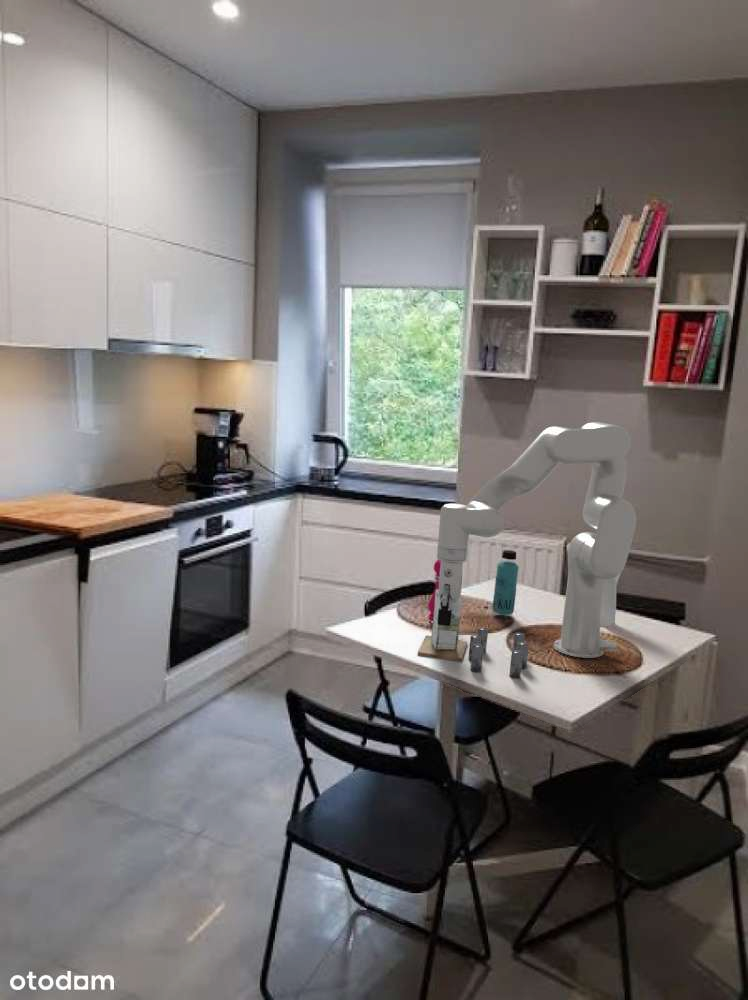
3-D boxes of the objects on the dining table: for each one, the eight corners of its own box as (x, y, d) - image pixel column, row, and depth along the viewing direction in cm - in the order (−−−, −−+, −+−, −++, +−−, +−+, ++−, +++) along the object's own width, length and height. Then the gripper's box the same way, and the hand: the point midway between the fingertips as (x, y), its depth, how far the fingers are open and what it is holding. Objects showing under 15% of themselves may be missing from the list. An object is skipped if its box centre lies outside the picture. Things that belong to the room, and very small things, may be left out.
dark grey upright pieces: (527, 656, 192) (529, 634, 191) (525, 680, 177) (528, 655, 176) (471, 648, 195) (473, 626, 194) (464, 670, 180) (467, 646, 179)
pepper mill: (443, 627, 210) (450, 557, 206) (422, 620, 214) (428, 552, 211) (457, 621, 215) (463, 553, 212) (435, 615, 220) (441, 548, 216)
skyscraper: (608, 629, 219) (620, 535, 214) (584, 622, 224) (596, 530, 219) (619, 623, 225) (631, 532, 220) (596, 617, 230) (607, 527, 225)
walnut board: (467, 644, 198) (467, 641, 198) (461, 661, 185) (461, 658, 185) (425, 638, 200) (426, 635, 200) (417, 654, 187) (417, 651, 187)
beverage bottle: (497, 611, 228) (504, 547, 225) (517, 616, 224) (524, 551, 221) (487, 616, 223) (494, 550, 220) (507, 621, 219) (515, 554, 216)
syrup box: (452, 642, 196) (457, 588, 193) (457, 651, 190) (462, 595, 187) (430, 642, 195) (435, 588, 192) (435, 650, 189) (440, 595, 187)
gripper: (463, 563, 179) (457, 632, 182) (470, 548, 196) (464, 611, 199) (432, 559, 181) (426, 627, 184) (442, 544, 198) (436, 607, 200)
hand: (446, 619), depth 191 cm, fingers open, 9 cm apart
